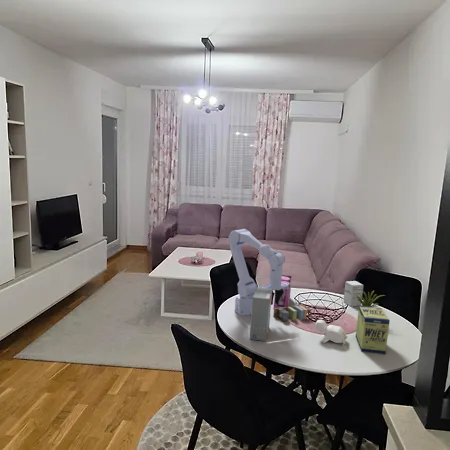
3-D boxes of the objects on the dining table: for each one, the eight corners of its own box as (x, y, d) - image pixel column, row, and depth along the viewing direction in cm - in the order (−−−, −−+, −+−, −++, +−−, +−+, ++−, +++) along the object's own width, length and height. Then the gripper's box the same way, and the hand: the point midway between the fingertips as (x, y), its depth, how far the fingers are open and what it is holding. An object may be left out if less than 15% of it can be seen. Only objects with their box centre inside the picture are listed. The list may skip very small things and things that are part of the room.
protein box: (361, 351, 179) (365, 318, 176) (354, 336, 194) (358, 305, 191) (386, 354, 178) (390, 320, 175) (377, 338, 193) (381, 307, 190)
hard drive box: (266, 342, 184) (269, 299, 180) (249, 339, 185) (251, 297, 182) (269, 327, 199) (272, 288, 195) (253, 325, 200) (256, 286, 197)
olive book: (293, 320, 207) (293, 311, 206) (286, 316, 213) (287, 306, 212) (296, 320, 208) (296, 310, 207) (289, 315, 213) (290, 306, 212)
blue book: (300, 319, 209) (301, 310, 208) (294, 315, 214) (294, 306, 213) (303, 319, 210) (304, 310, 209) (297, 314, 215) (297, 305, 214)
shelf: (281, 323, 204) (281, 313, 203) (273, 317, 212) (274, 307, 211) (310, 319, 211) (310, 309, 210) (301, 314, 218) (302, 303, 217)
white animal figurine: (342, 345, 191) (313, 327, 195) (350, 330, 189) (321, 313, 193) (339, 352, 183) (309, 334, 188) (348, 337, 181) (318, 319, 185)
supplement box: (342, 302, 239) (345, 281, 237) (353, 301, 242) (356, 280, 239) (350, 306, 232) (352, 285, 230) (361, 305, 235) (363, 284, 232)
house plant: (378, 316, 220) (381, 287, 217) (385, 327, 206) (389, 296, 204) (351, 314, 221) (354, 285, 218) (356, 324, 208) (359, 293, 205)
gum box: (287, 313, 219) (289, 288, 216) (272, 311, 220) (274, 287, 218) (290, 298, 242) (291, 275, 239) (276, 296, 243) (278, 274, 241)
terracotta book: (304, 319, 210) (304, 309, 209) (297, 314, 215) (298, 305, 214) (307, 318, 210) (307, 309, 210) (300, 314, 216) (301, 305, 215)
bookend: (283, 321, 205) (284, 313, 204) (277, 317, 211) (278, 308, 210) (288, 321, 206) (289, 312, 205) (282, 316, 212) (283, 308, 211)
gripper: (266, 281, 196) (264, 308, 198) (292, 278, 201) (290, 305, 204) (259, 276, 202) (257, 303, 205) (285, 274, 208) (283, 300, 210)
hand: (273, 303), depth 205 cm, fingers open, 3 cm apart
